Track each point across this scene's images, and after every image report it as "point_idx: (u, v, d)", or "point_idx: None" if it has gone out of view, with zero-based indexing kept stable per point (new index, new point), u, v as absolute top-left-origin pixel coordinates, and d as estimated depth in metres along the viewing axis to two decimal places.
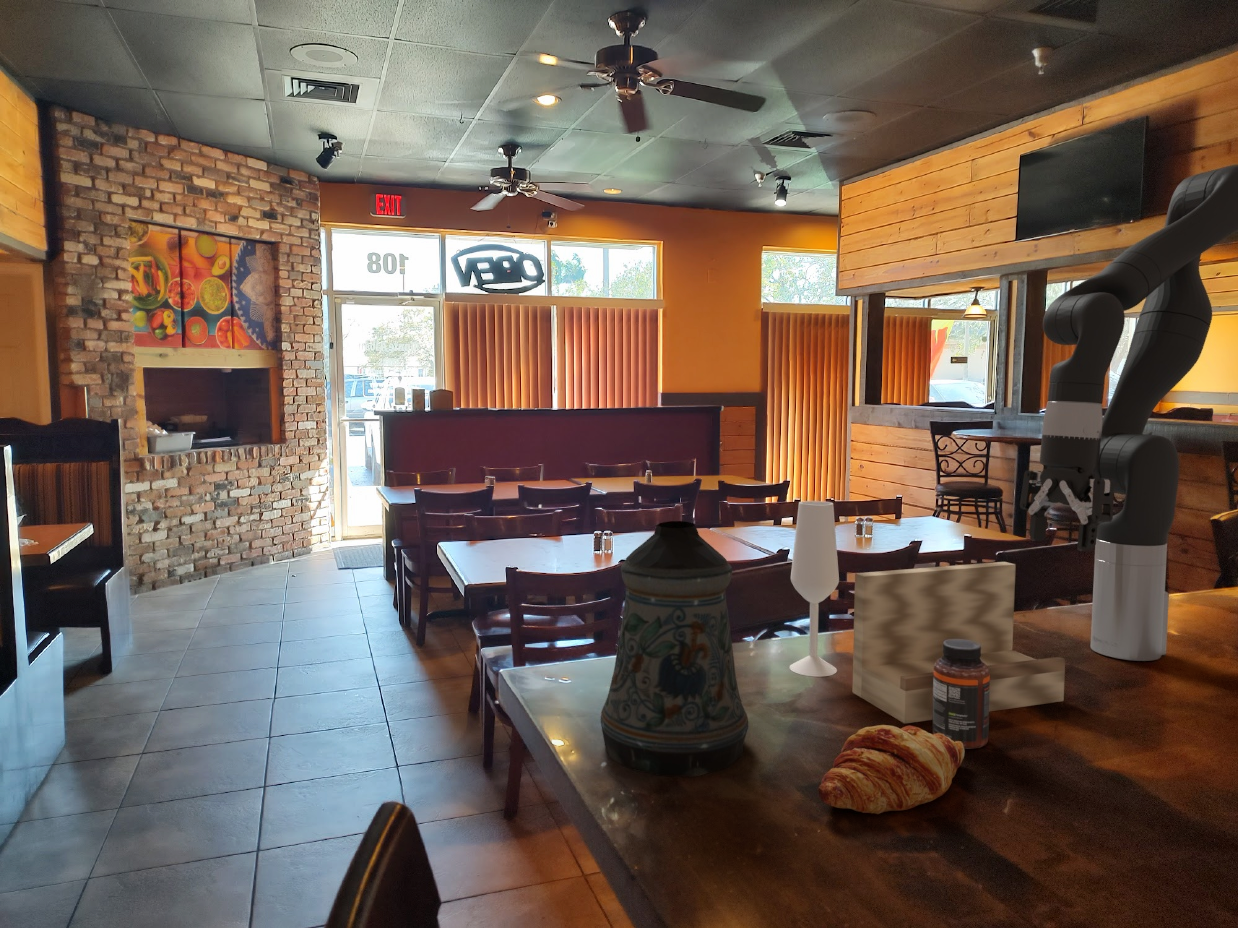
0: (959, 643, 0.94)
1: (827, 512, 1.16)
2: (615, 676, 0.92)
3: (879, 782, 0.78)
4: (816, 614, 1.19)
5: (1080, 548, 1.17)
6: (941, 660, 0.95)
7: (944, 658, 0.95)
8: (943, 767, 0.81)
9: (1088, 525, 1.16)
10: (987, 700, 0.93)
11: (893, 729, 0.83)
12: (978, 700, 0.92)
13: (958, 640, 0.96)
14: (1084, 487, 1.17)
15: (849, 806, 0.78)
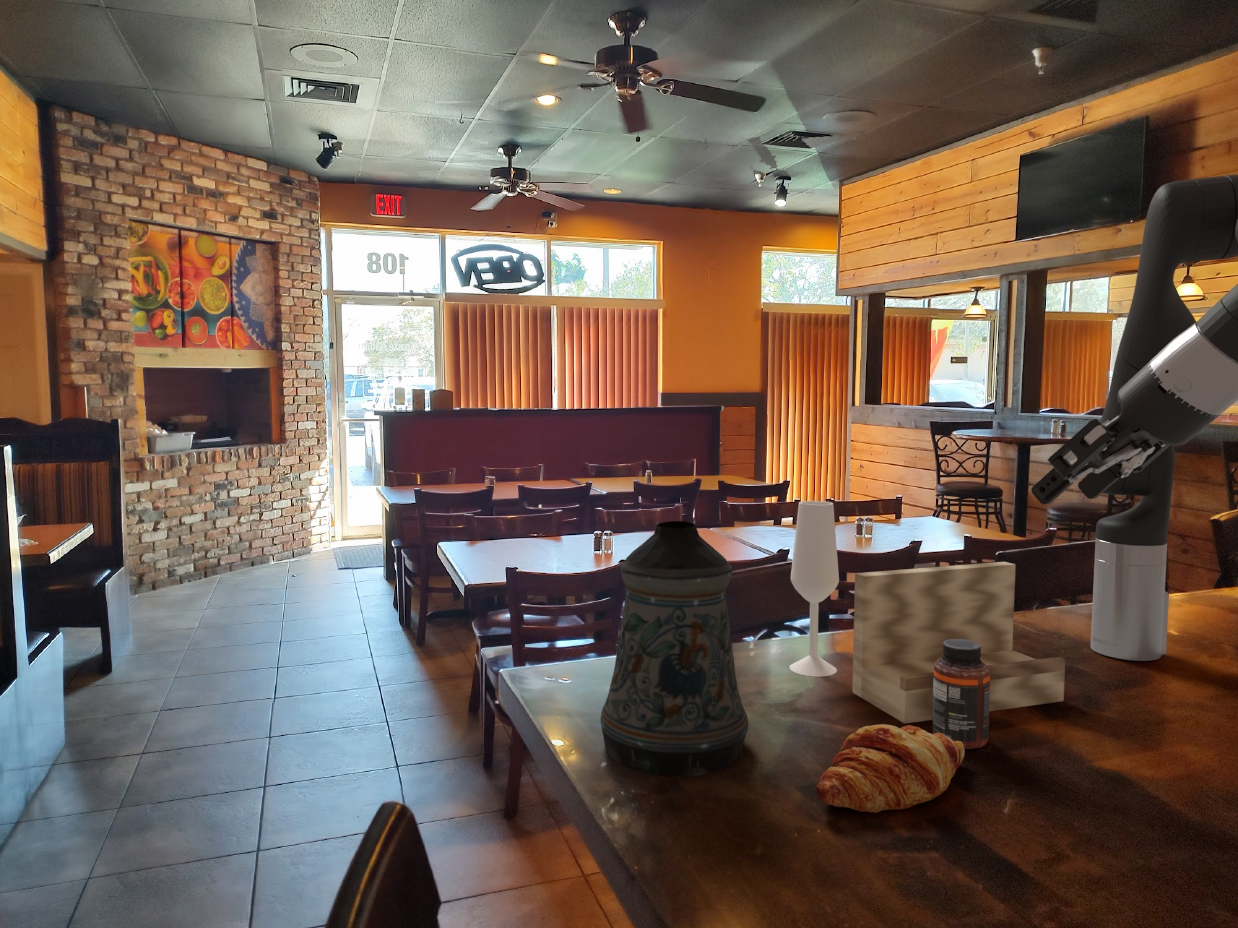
0: (959, 643, 0.94)
1: (827, 512, 1.16)
2: (615, 676, 0.92)
3: (876, 781, 0.79)
4: (816, 614, 1.19)
5: None
6: (941, 660, 0.95)
7: (944, 658, 0.95)
8: (942, 766, 0.82)
9: (1119, 474, 0.87)
10: (987, 700, 0.93)
11: (892, 728, 0.83)
12: (978, 700, 0.92)
13: (958, 640, 0.96)
14: None
15: (847, 805, 0.78)
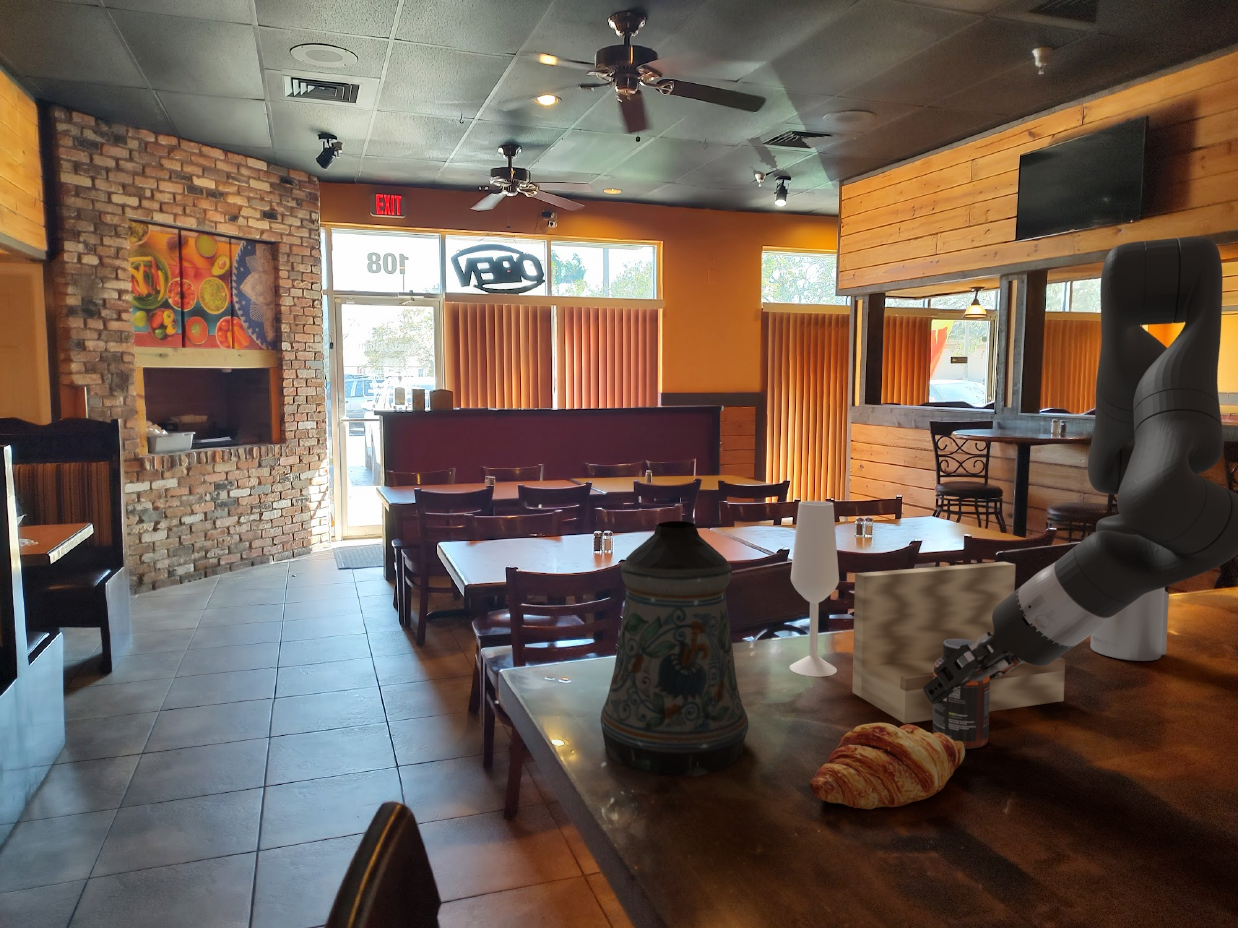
0: (959, 643, 0.94)
1: (827, 512, 1.16)
2: (615, 676, 0.92)
3: (870, 779, 0.79)
4: (816, 614, 1.19)
5: None
6: (941, 660, 0.95)
7: (944, 658, 0.95)
8: (938, 765, 0.82)
9: None
10: (987, 700, 0.93)
11: (888, 727, 0.84)
12: (978, 700, 0.92)
13: (958, 640, 0.96)
14: None
15: (840, 801, 0.79)
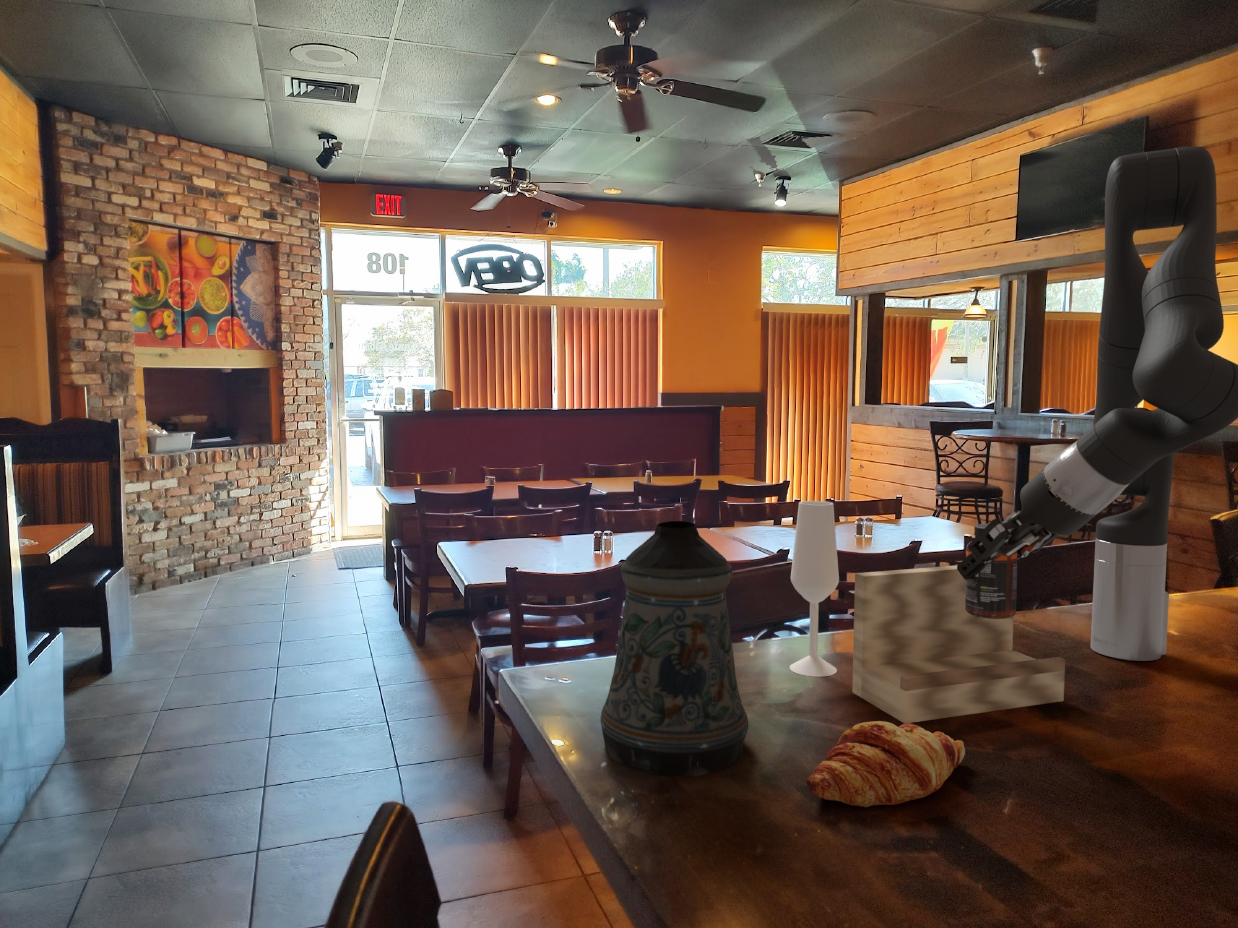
0: None
1: (827, 512, 1.16)
2: (615, 676, 0.92)
3: (867, 776, 0.80)
4: (816, 614, 1.19)
5: None
6: None
7: None
8: (936, 764, 0.82)
9: None
10: (1015, 575, 1.03)
11: (887, 725, 0.84)
12: (1007, 574, 1.03)
13: None
14: None
15: (837, 798, 0.80)
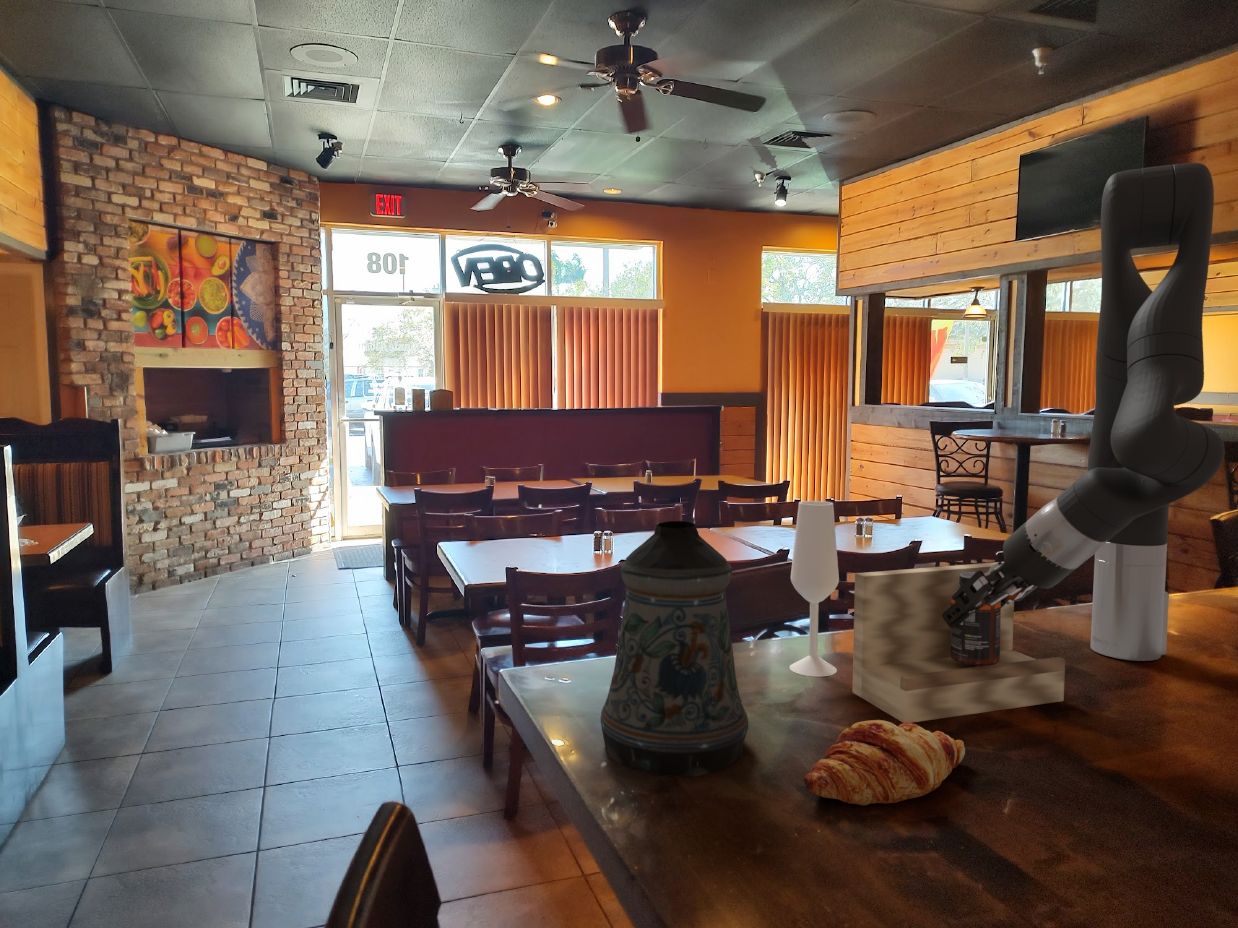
0: None
1: (827, 512, 1.16)
2: (615, 676, 0.92)
3: (865, 775, 0.80)
4: (816, 614, 1.19)
5: None
6: None
7: None
8: (934, 763, 0.82)
9: None
10: (998, 623, 1.06)
11: (885, 724, 0.84)
12: (991, 623, 1.06)
13: (972, 573, 1.09)
14: None
15: (834, 796, 0.80)
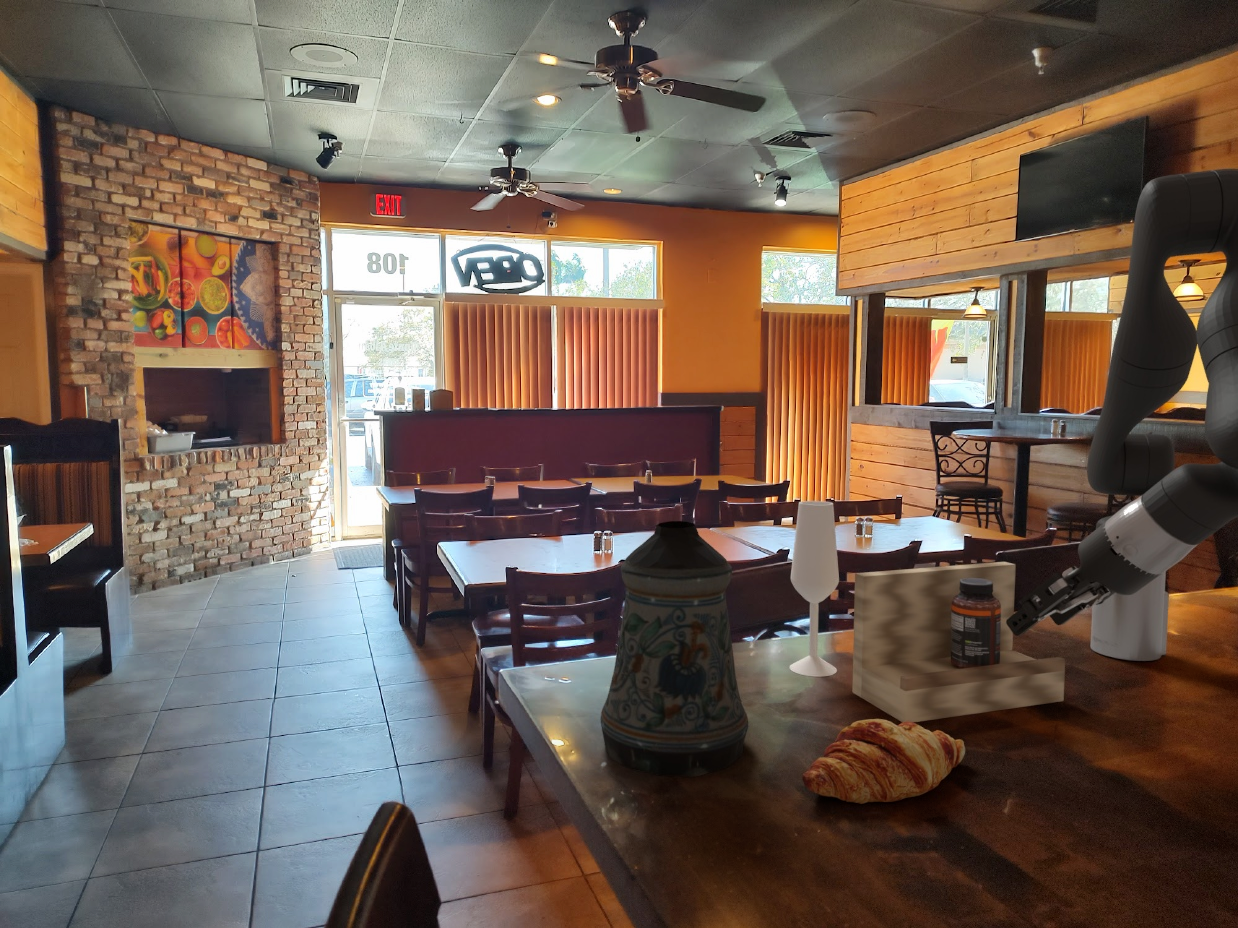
0: (974, 581, 1.08)
1: (827, 512, 1.16)
2: (615, 676, 0.92)
3: (863, 773, 0.80)
4: (816, 614, 1.19)
5: (1062, 624, 1.03)
6: (958, 596, 1.08)
7: (961, 594, 1.08)
8: (933, 762, 0.83)
9: None
10: (999, 629, 1.06)
11: (884, 723, 0.84)
12: (991, 629, 1.06)
13: (973, 579, 1.09)
14: None
15: (832, 794, 0.80)
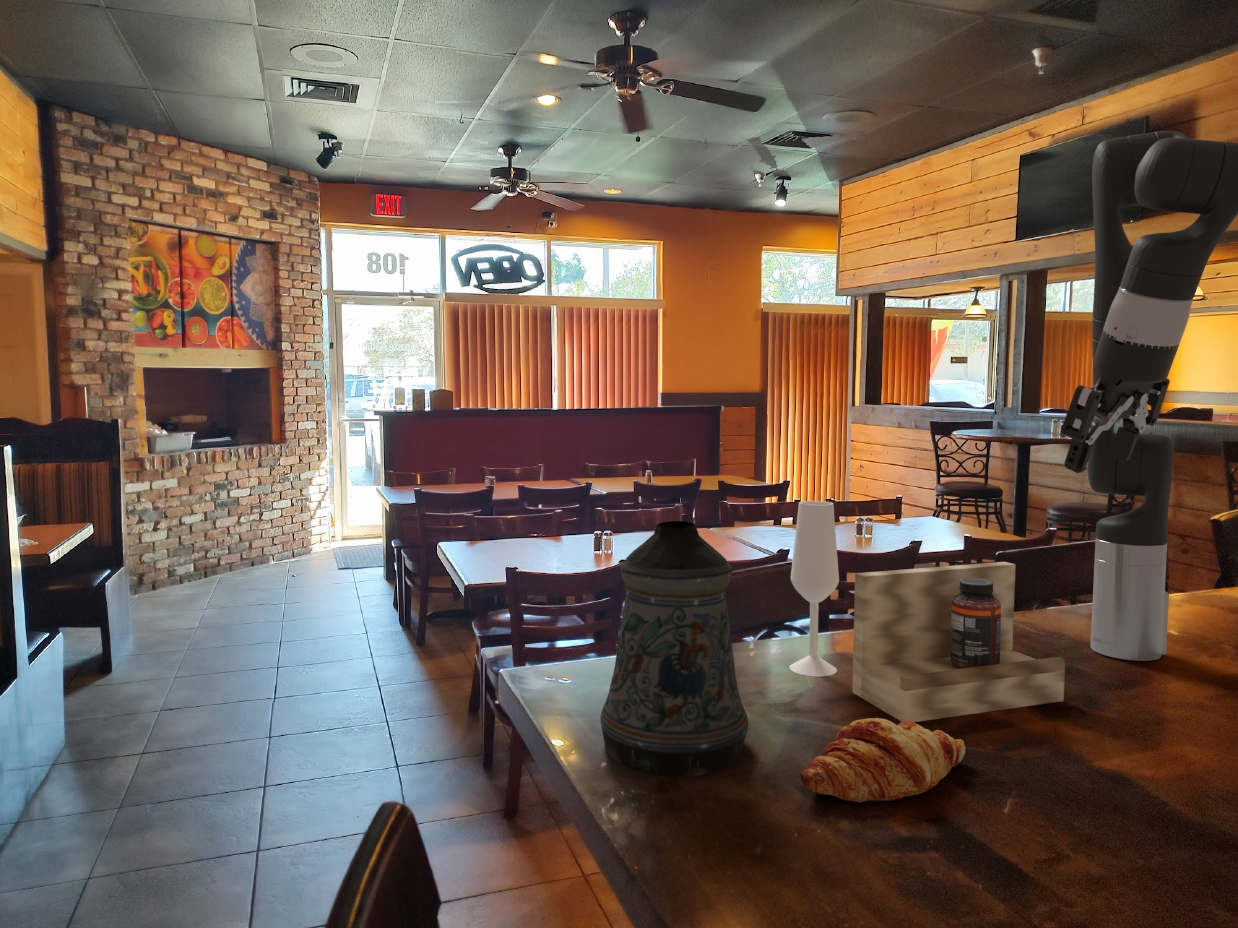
0: (974, 581, 1.08)
1: (827, 512, 1.16)
2: (615, 676, 0.92)
3: (861, 772, 0.81)
4: (816, 614, 1.19)
5: (1128, 458, 1.01)
6: (958, 596, 1.08)
7: (961, 593, 1.08)
8: (931, 761, 0.83)
9: (1138, 431, 1.00)
10: (999, 629, 1.06)
11: (883, 722, 0.85)
12: (991, 629, 1.06)
13: (973, 579, 1.09)
14: (1147, 392, 0.97)
15: (830, 793, 0.81)
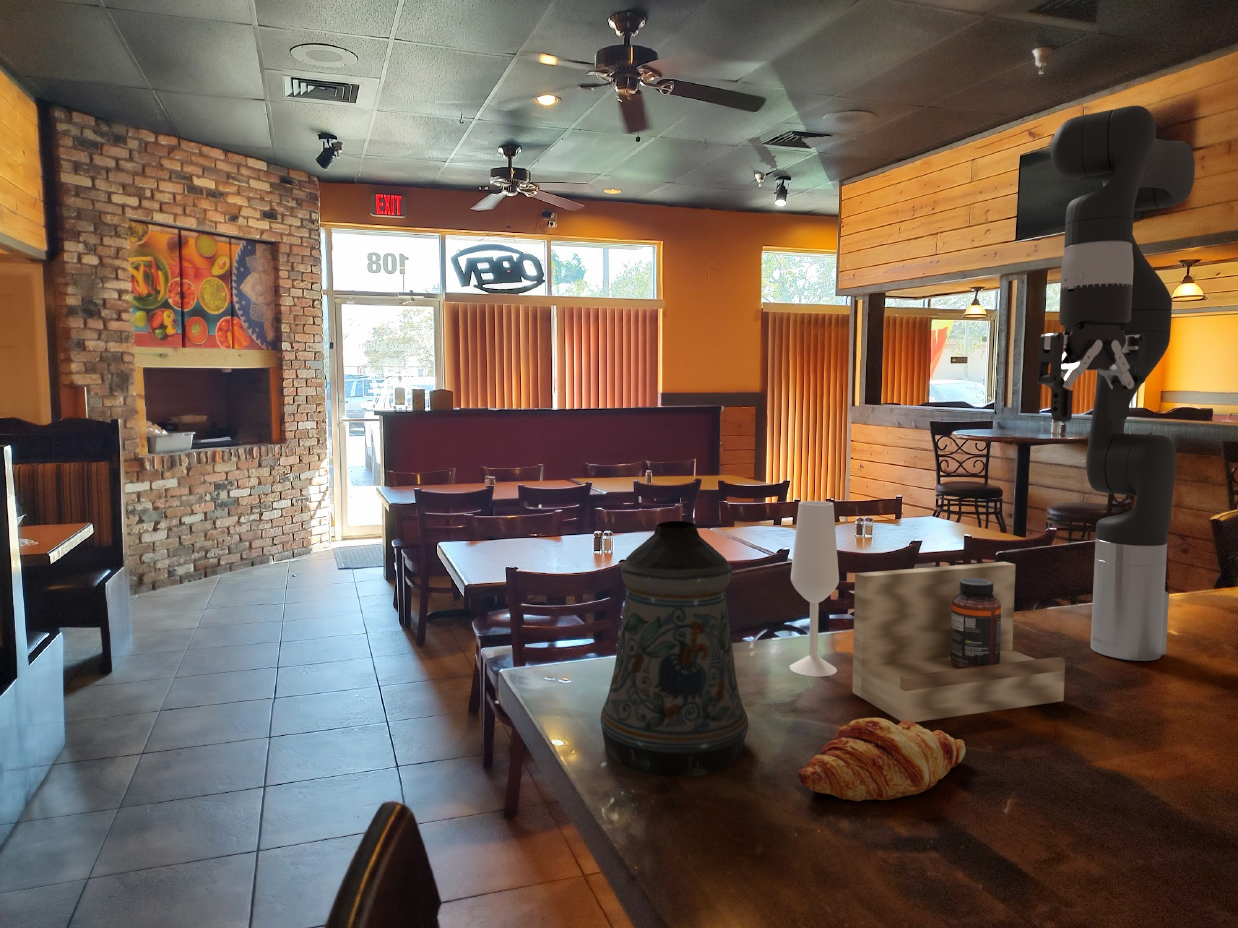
0: (974, 581, 1.08)
1: (827, 512, 1.16)
2: (615, 676, 0.92)
3: (859, 771, 0.81)
4: (816, 614, 1.19)
5: (1125, 417, 1.02)
6: (958, 596, 1.08)
7: (961, 594, 1.08)
8: (930, 761, 0.83)
9: (1128, 389, 1.02)
10: (999, 629, 1.06)
11: (882, 721, 0.85)
12: (991, 629, 1.06)
13: (973, 579, 1.09)
14: (1123, 346, 1.01)
15: (828, 791, 0.81)
